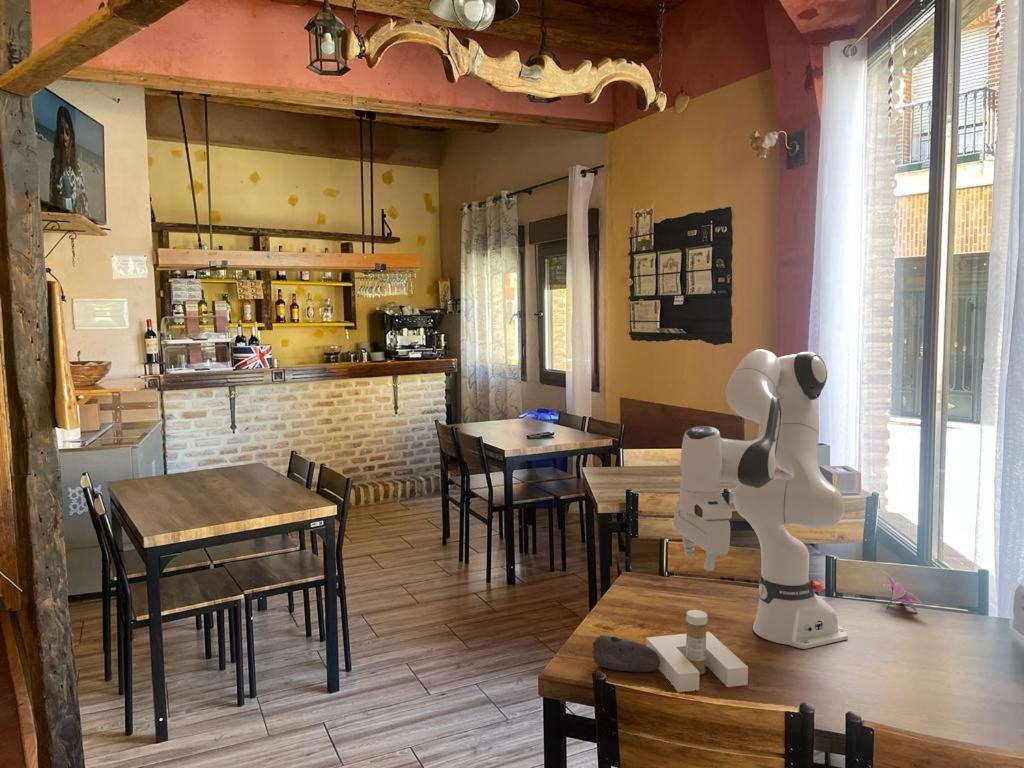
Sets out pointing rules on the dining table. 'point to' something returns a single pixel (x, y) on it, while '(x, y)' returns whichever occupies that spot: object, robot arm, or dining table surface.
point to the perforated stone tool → (624, 655)
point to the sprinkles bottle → (696, 639)
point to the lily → (900, 593)
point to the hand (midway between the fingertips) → (698, 562)
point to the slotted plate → (685, 673)
